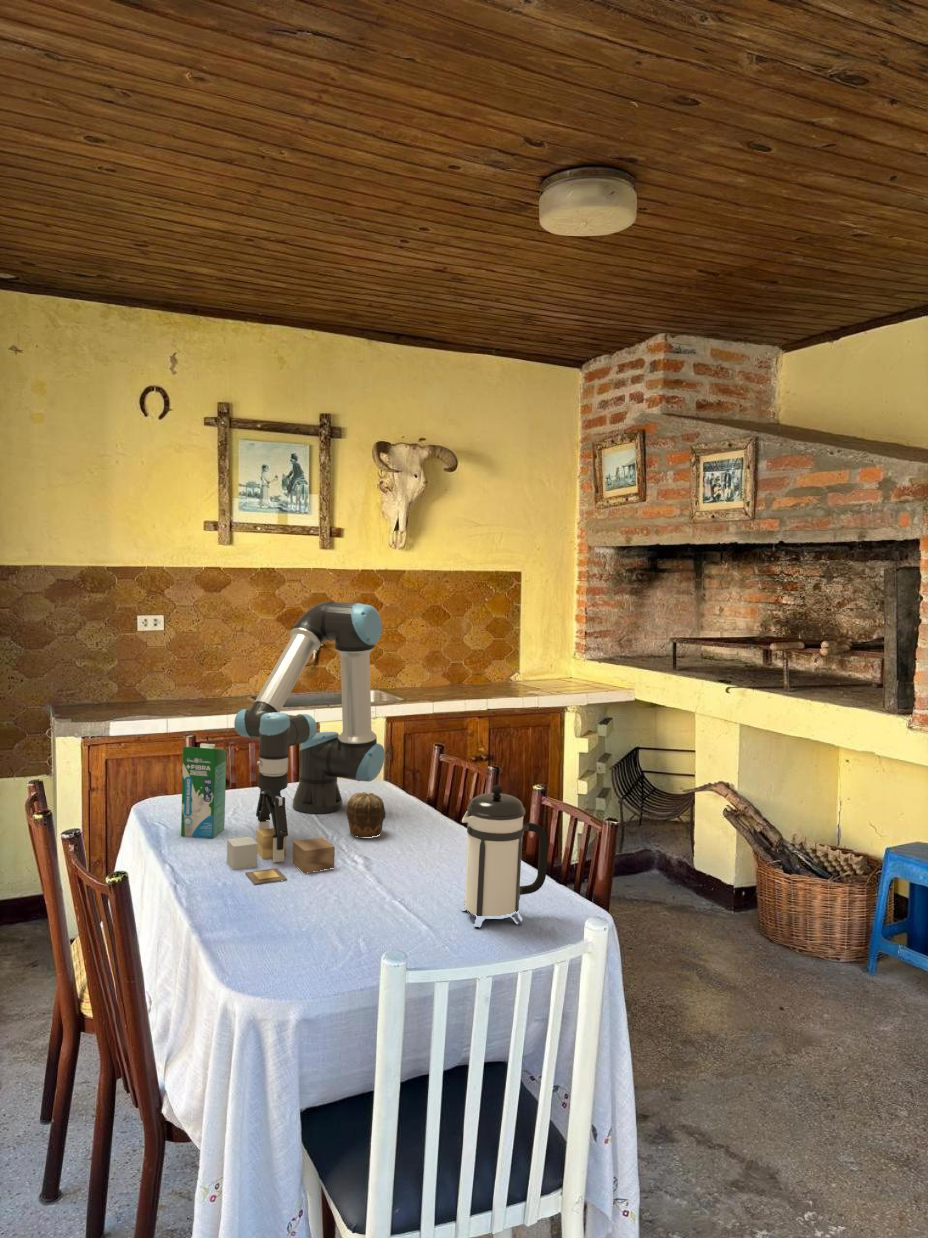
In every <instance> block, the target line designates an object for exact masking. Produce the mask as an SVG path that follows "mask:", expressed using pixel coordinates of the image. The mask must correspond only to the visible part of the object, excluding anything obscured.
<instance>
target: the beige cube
mask: <svg viewBox="0 0 928 1238" xmlns="http://www.w3.org/2000/svg"><path fill="white" fill-rule="evenodd" d="M257 845H258V844H257V841H256V840H255V839H253V837H252V836H246V837H237V838H230V839H229V838H228V839H227V844H226V848H227V849H226V863H227V864H228V865H229V867H230V868H231V870H232V871H235V869H237V870H242V869H243V870H244V869H250V868H257V867H258V853H257Z"/></svg>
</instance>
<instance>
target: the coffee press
mask: <svg viewBox="0 0 928 1238" xmlns="http://www.w3.org/2000/svg"><path fill="white" fill-rule="evenodd" d="M503 790H504V789H503V788H502V786H501V785H499V784H495V785H494V786H492V788H491V791H492V792H488V793H482V794H478V795H477V796H475V797H473V798H472V799H471V800H470V803H469V804H468V805H467V808H466V812H465V814H464V815H463V817H462V819H461V822H462V823H466V827H467V828H466V833H467V848H466V851H467V852H466V870H465V889H464V891H465V894H464V898H465V899H464V902H465V904H464V908H465V909H467V911H466V912H468V911H469V912H470V913H472V914H476V915H477V916H501V915H506V914H511V913H513V912H515V911H516V912H517V911H518V910H519V911H520V909H519V907H520V899H521V896H522V895H528V894H533V893H536V892H537V891H539V890H540V889H541V888H542V887H543V885H544V883H545V881H546V877H547V868H548V845H549V844H548V837H547V834H546V831H545V830H544V828H543V827H542V826H541V825H539V824H537V823H534V822H527V823H524V816H526V808H525V807H524V805H523V802H522V801H521V800H520V799H519V798H517V797H515V796H513V795H510V794H507V793H506V794H505V793H502V792H503ZM527 831H528V832H533V833H535V834H536V835H537V837H538V859H537V862H538V863H537V875H536V879H535V880H534V882H532V883H531V884H529V885H528V884H527V885H521V873H522V872H521V871H522V870H521V869H522V849H523V836H524V833H525V832H527ZM469 912H468V913H469ZM470 913H469V914H470Z"/></svg>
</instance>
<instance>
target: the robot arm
mask: <svg viewBox="0 0 928 1238" xmlns="http://www.w3.org/2000/svg"><path fill="white" fill-rule="evenodd" d="M382 632H383V623H382V618H381V615H380V613H379V611H378V610H377V609H376V608H375V607H374V606H372V605H369V604H363V603H361V602H360V603H358V602H340V601H339V602H337V601H336V602H335V601H324V602H320V603H317V604H316V605H314V606H313V607H311V608H310V609H308V610H306V611H305V613H303V614H302V615H301V616H300V618H298V620H297V621H296V622H295V624H294V625H293V627H292V629H291V631H290V633H289V635H290V636H289V637H290V639H289V641H288V643H287V644H286V646H285V647H284V650H283V651H282V653H281V654H280V657H279V658H278V660H277V662H276V664H275V666H274V667H273V669H272V671H271V673H270V674H269V676H268V678H267V679H266V681H265V683H264V685H263V686H262V688H261V690H260V692H259V693H258V695H257V697H256V699H255V701H254V702H253V703H252V705H251V707H250V708H246V709H245V708H243V709H241V710H240V711H238V712H237V713H236V715H235V717H234V722H233V725H234V730H235V732H236V733H237V734H238V735H239V736H241V737H245V738H249V739H259V749H258V750H259V752H258V761H256V765H257V766H258V772H259V774H258V776H257V777H258V778H257V787H258V789H259V795H258V796H259V797H258V802H257V806H256V807H257V808H256V812H255V816H256V818H257V820H258V827H257V830H261V829H270V820H272V826H273V827H272V828H274V832H275V835H273V836H272V837H273V858H272V862H273V863H280V862H285V856H284V844H285V836H286V837H288V836H289V830H288V829H289V828H288V823H287V822H288V820H287V813H286V811H287V810H286V797H285V796H282V795H281V792H282V791H283V790H286V789H287V788H288V785H289V784H288V781H289V779H288V778H289V774H288V773H287V772H288V771H289V761H290V760H289V758H290V757H289V751H290V750H289V749H290V747H291V746H296V745H299V746H300V747H299V779H298V781H299V782H298V785H297V787H296V791H295V793H294V796H293V799H292V809H294V811H298V812H300V813H307V814H329V813H328V812H330V813H334V812H333V811H335V812H337V811H336V810H338V809H340V808H341V807H342V808H343V798H342V795H341V791H340V788H339V784H338V779H339V778H341V779H346V780H350V781H352V780H353V781H356V782H368V783H369V782H372V781H374V780H375V779H376V778H377V777H378V776H379V775H380V773H381V771H382V769H383V767H384V763H385V757H386V752H385V751H386V749H385V748H384V746H383V745H382V744H381V743H378V742H377V741H378V740H377V734H376V733H375V732H374V731H373V730H372V704H371V702H372V701H371V699H372V697H371V695H372V694H371V669H370V668H371V667H370V666H371V664H370V663H371V661H370V660H371V659H370V658H371V657H370V654H371V653H372V651H374V649H375V645H376V644H378V643H379V641H380V639H381V637H382V636H381V635H382ZM327 641H328V642H329V641H331V642H334V650H335V651H336V652H337V653H338V654H339V655H340V679H341V680H340V682H341V713H342V717H341V718H342V719H341V720H342V732H341V733H339V732H336V731H322V732H321V731H319V732H317V730H318V728H317V727H318V726H317V723H316V720H315V719H314V718H313V716H312V715H310V714H307V713H306V714H305V713H302V714H301V713H298V714H296V715H292V714H288V713H285V712H281V711H282V708H283V707H284V705H285V703H286V702H287V700H288V698H289V696H290V694H291V693H292V691H293V689H294V687H295V685H296V683H297V682H298V680H299V678H300V676H301V675H302V672H303V671H304V669H305V667H306V665H307V663H308V662H309V660H310V658H311V657H312V655H313V653H314V651H317V650H319V649H320V647H321V645H322V644H323V643H324V642H327ZM342 808H341V809H342ZM341 809H340V810H341ZM338 811H339V810H338ZM270 816H271V817H270ZM281 831H282V832H281Z"/></svg>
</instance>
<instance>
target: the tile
mask: <svg viewBox="0 0 928 1238" xmlns="http://www.w3.org/2000/svg"><path fill="white" fill-rule="evenodd" d="M245 875H246V877H247V878H248V879H249V880H250V881H251V883H252V884H253V885H254V886H259V885H264V884H263V883H266V884H271V883H270V882H273V883H275V882H274V881H280V882H282V881H281V880H287V881H288V878H287V877H286V876H285V875H284V873H282V872H281V870H280V869H279V868H278V867H277V868H270V869H269V868H268V869H261V870H254V871H245ZM267 882H269V883H267ZM258 884H259V885H258Z"/></svg>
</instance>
